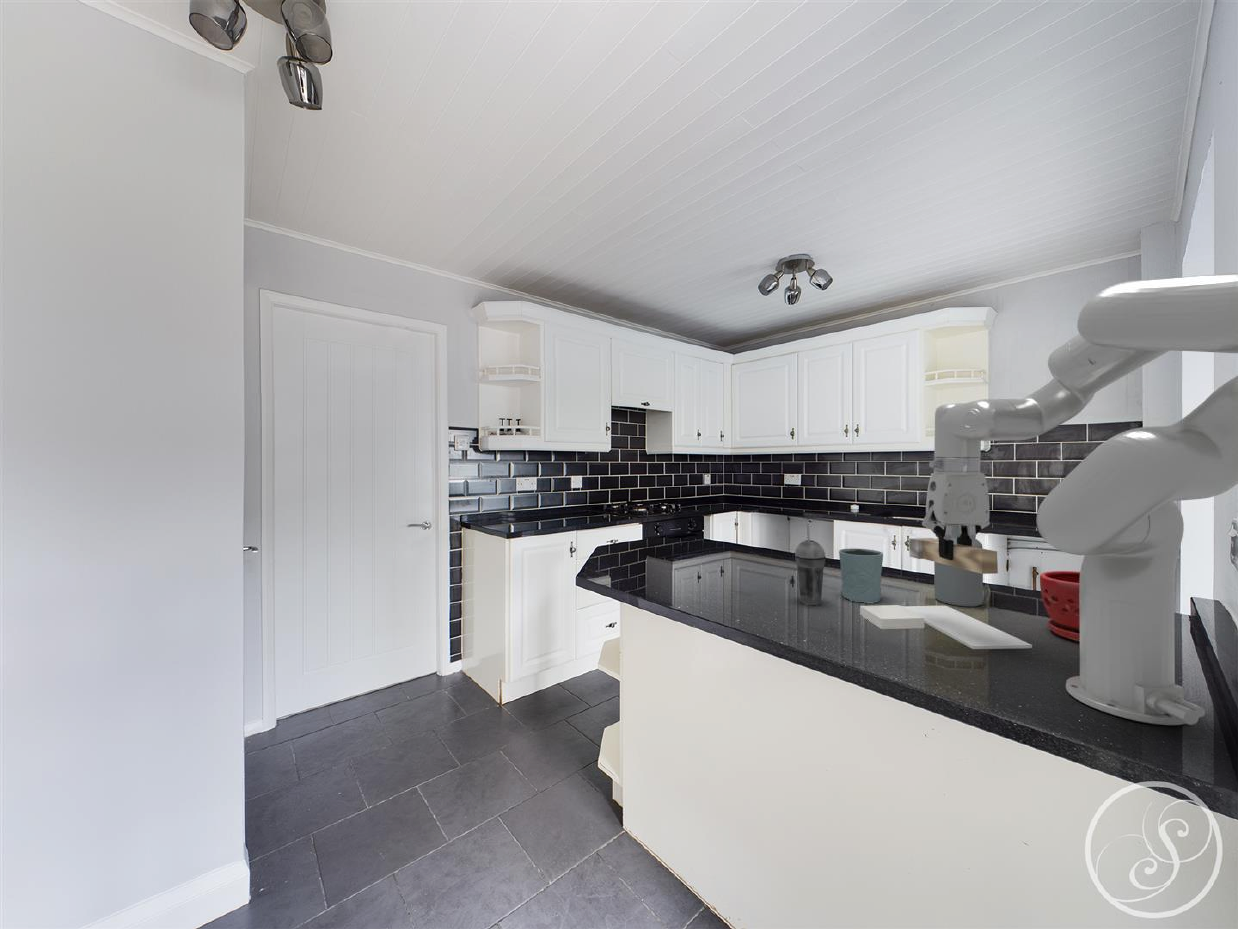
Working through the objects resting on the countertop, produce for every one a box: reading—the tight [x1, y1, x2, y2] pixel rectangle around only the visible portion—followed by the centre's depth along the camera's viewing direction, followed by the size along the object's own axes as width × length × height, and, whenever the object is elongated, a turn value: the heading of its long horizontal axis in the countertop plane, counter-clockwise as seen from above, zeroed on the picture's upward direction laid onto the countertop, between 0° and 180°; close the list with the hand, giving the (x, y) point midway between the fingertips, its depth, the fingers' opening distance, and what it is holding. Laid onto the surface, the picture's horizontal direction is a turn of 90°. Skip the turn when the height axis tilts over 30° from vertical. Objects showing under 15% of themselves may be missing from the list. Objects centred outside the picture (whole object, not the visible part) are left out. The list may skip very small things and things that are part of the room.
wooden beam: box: [908, 537, 999, 575], centre depth 97 cm, size 19×5×4 cm, turn 2°
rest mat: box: [901, 605, 1033, 650], centre depth 102 cm, size 24×11×1 cm, turn 0°
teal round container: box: [838, 547, 884, 602], centre depth 123 cm, size 10×10×12 cm
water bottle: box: [933, 525, 984, 608], centre depth 119 cm, size 10×10×28 cm
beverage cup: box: [794, 522, 827, 606], centre depth 120 cm, size 7×7×20 cm
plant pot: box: [1039, 570, 1080, 643], centre depth 95 cm, size 13×13×12 cm
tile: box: [859, 604, 925, 630], centre depth 106 cm, size 3×9×9 cm
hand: (954, 557), depth 97 cm, fingers closed on wooden beam, 3 cm apart
